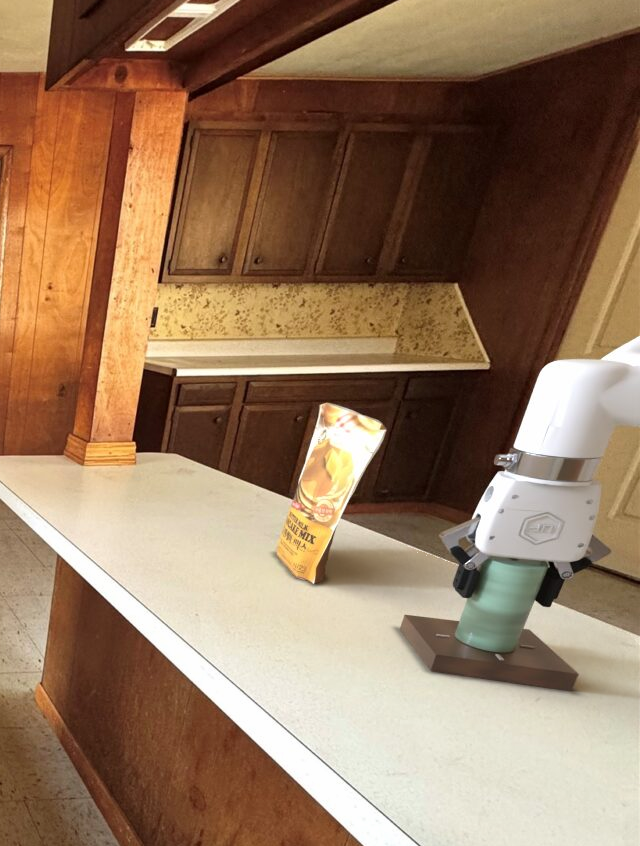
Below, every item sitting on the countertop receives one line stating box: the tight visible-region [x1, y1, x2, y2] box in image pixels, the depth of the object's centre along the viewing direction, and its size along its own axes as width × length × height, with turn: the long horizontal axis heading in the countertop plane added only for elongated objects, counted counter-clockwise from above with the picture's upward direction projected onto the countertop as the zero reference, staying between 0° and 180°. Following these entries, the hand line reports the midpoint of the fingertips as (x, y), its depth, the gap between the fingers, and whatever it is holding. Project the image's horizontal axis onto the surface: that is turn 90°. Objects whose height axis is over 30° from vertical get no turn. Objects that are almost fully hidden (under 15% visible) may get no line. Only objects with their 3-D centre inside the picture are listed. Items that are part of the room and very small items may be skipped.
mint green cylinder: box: [455, 556, 549, 653], centre depth 86 cm, size 6×6×12 cm
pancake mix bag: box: [276, 402, 388, 585], centre depth 113 cm, size 7×19×28 cm, turn 164°
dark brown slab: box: [399, 614, 579, 692], centre depth 89 cm, size 14×12×3 cm
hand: (500, 597), depth 86 cm, fingers open, 7 cm apart
